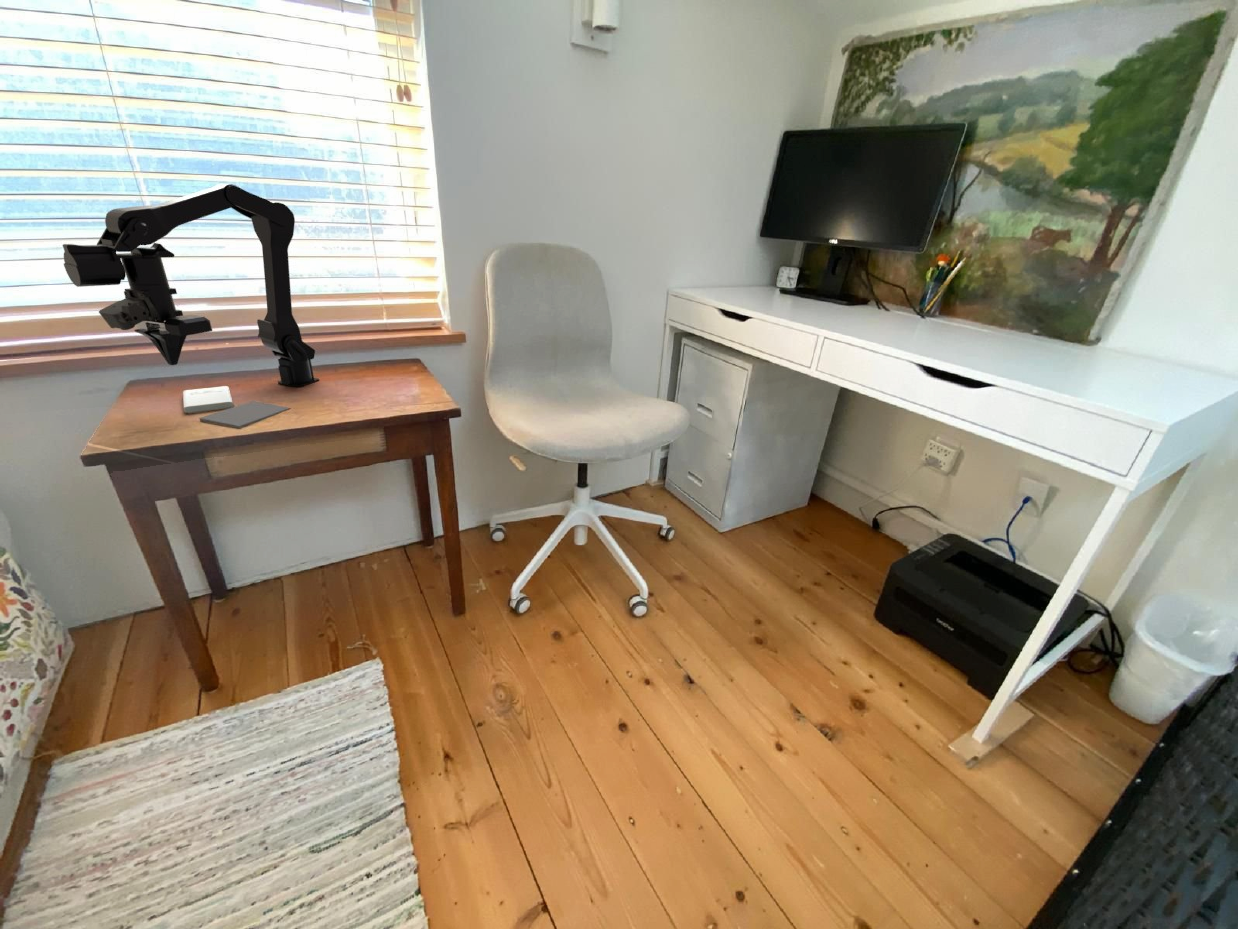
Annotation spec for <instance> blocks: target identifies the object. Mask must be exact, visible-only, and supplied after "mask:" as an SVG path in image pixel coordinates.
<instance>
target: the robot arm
mask: <svg viewBox="0 0 1238 929" xmlns="http://www.w3.org/2000/svg"><path fill="white" fill-rule="evenodd" d="M230 208H231V209H232V210H234V211H235V212H236V213H239V214H240V215H242V216H244V217H245V218H248V219H251V222H252V226H253V230H254V233H255V235H256V236H257V238H258V240H259V241H260V243H261V247H262V248H261V250H262V262H263V274H264V275H263V276H264V285H265V298H266V307H267V310H266V315H265V317H264V319H261V318H259V319H257V320H256V323H257V327H258V335H257V337H258V338H260V339H261V343H262V345H263V346H265V347H266V348H267V349H268V350H270V351H271V352H272V355H273V356H275V357H279V358H278V359H277V361H278V372H279V376H280V380H278V381H277V384H278V385H284V386H290V387H294V388H295V387H296V388H301V387H305V386H307V385H310V384H313V383H317V382H319V381H320V378H317V377H314V375H315V374H314V371H313V366H312V360H313V359H314V358H315V354H316V350H315V349H314V348H313V347H311V346H310V345H308V344H307V343H305V342H304V341H303V338H302V334H301V330H300V327H299V324H298V322H297V321H296V319H295V317H294V315H293V309H292V306H293V305H292V294H291V281H290V280H291V278H290V277H291V276H290V262H289V246H290V243H291V242H292V240H293V237H294V235H295V234H294V233H295V232H294V231H295V222H296V221H295V220H296V219H295V214H294V212H293V211H292V210H291V209H290V208H289V207H288V206H287V205H286V204H285V203H281V202H277V201H270V200H268V199H266V198H264V197H261V196H258V195H256V194H254V193H251V192H249V191H247V190H245V189H243V188H241V187H239V186H237V185H236V184H232V183H217V184H216V185H215V186H213V187H210V188H206V189H204V190H199V191H197V192H194V193H191V194H188V195H184V196H180V197H178V198H175V199H171V200H169V201H166V202H161V203H158V204H152V205H138V206H137V205H136V206H129V207H127V206H126V207H120V208H113V209H111V210H109V211H108V212H106V216H105V219H104V222H105V223H104V224H105V229H104V231H103V232H102V234H101V236H100V238H99V240H98V241H97V244H90V245H89V244H88V245H87V244H84V245H83V244H82V245H81V244H73V243H64V244H62V248H63V251H64V252H63V261H64V263H63V267H64V269H65V272H66V274H67V276H68V278H69V279H70V281H71V283H72V284H74V286H76V287H77V288H78V287H79V288H80V287H101V286H118V285H121V284H122V281H124V280H125V278H127V282H128V285H129V288H124V290H123V294H124V299H121V300H118V301H116V302H113V303H111V304H110V305H108V306H105V307H104V308H102V309H99V310H98V314H99V315H100V316H101V317H102V318H103V320H104V321H105V322H106V324H108V326H109V327H110V329H120V330H123V331H128V330H132V329H133V328H135V326H136V327H137V329H134V330H133V331H134V332H135V333H138V334H140V335H142V336H144V337H146V338H147V339H149V340H150V341H151V342H152V343H153V345H154V346H155V347H156V349H157V350H158V351H159V353H160V355H161V356H162V357H163V358H164V360H165V361H166V363H167V364H168V366H176V365H178V363H179V360H180V356H181V353H182V349H183V347H184V343H185V340H186V339H187V336H192V335H197V334H203V333H209V332H213V328H212V324H211V320H209V319H208V318H206V316H202V315H201V316H200V315H195V314H188V315H184V313H183V310H181V309H176V305H175V301H174V298H173V295H178V293H177V292H178V291H177V289H176V288H175V287H174V288H173V287H170V283H169V280H168V277H167V274H166V271H165V266H164V263H163V259H162V258H174V257H175V253H173V252H172V251H170V250H168V249H167V248H165V247H164V246H163V245H162V244H161V243H158V242H157V241H159V240H161V239H163V238H164V237H166V236H167V235H169V234H170V233H171V232H172V231H173V230H174V229H176V228H177V227H179V226H181V225H185V224H187V223H190V222H193V221H195V220H199V219H202V218H205V217H207V216H210V215H213V214H217V213H219V212H222V211H226V210H228V209H230ZM149 245H151V246H150V247H139V246H149ZM117 252H119V253H117Z"/></svg>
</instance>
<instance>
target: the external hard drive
mask: <svg viewBox="0 0 1238 929" xmlns="http://www.w3.org/2000/svg"><path fill="white" fill-rule="evenodd" d="M182 392H183V393H182V397H183V399H182V400H183V410H184V413H185V414H190V415H191V414H198V413H206V412H211V411H219V410H226V409H229V408H232V407H235V406H234V403H233V398H232V395H231V392H230V388H229V386H226V385H222V386H214V387H205V388H196V389H195V388H194V389H185V390H183V391H182Z"/></svg>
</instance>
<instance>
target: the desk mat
mask: <svg viewBox="0 0 1238 929" xmlns="http://www.w3.org/2000/svg"><path fill="white" fill-rule="evenodd" d="M289 410H291V407H287V406H283V405H276V404H274V403H273V404H272V403H268V402H266V403H265V402H262V401H256V400H252V401H248V402H245V403H242V404H238V405H236V406H234V407H232V408H227V409H222V410H221V411H217V412H213V413H210V414H208V415H204V416H201V417H199V421H200V422H203V423H207V424H213V425H220V426H224V427H229V428H233V429H234V428H235V429H239V430H241V429H242V428H245V427H248V426H251V425H253V424H255V423H259V422H261V421H264V420H266V419H268V418H271V417H274V416H276V415H278V414H281V413H283V411H284V412H285V411H289Z"/></svg>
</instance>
